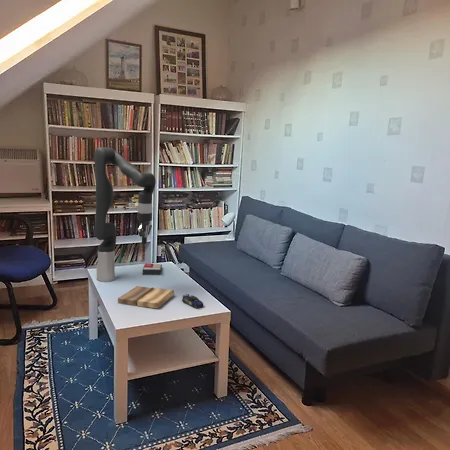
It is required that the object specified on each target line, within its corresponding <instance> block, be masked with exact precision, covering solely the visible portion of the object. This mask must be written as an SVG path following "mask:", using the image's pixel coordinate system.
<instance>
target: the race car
mask: <svg viewBox="0 0 450 450" xmlns="http://www.w3.org/2000/svg"><path fill="white" fill-rule="evenodd" d="M181 301H182V303H183V304H185V305H188V306H190V307H192V308H193V309H197V311H201V310H202V308H203V307H204V302H203V301H202V300H200V299H199V298H198V297H196V296H195V295H190V294H188V293H187V294H186V293H185V294H183V295H182V298H181Z"/></svg>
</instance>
